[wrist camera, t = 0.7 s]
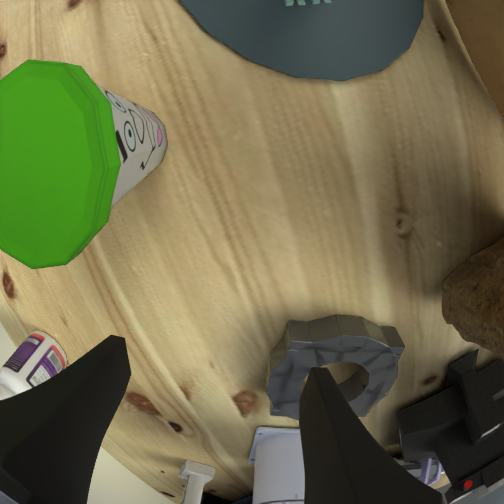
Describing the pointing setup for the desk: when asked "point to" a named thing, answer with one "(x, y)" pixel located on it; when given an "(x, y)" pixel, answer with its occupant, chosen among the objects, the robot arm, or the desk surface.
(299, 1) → the dinosaur
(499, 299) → the stone
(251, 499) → the decorative orb
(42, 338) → the pill bottle
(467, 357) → the camera
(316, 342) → the grey hollow flat block
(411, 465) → the toy gun
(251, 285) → the desk surface
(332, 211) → the desk surface
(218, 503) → the multiport hub
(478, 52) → the steamer basket
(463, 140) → the desk surface
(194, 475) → the model tower
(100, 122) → the cup
